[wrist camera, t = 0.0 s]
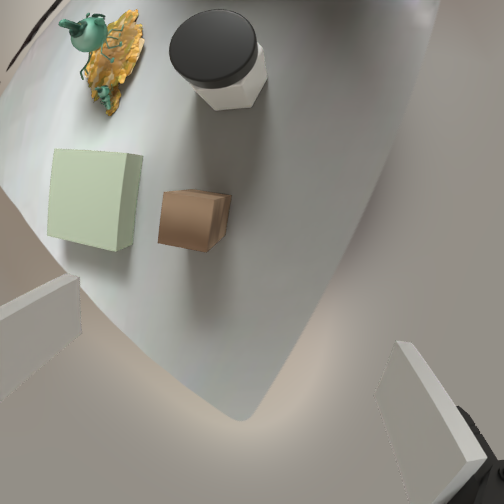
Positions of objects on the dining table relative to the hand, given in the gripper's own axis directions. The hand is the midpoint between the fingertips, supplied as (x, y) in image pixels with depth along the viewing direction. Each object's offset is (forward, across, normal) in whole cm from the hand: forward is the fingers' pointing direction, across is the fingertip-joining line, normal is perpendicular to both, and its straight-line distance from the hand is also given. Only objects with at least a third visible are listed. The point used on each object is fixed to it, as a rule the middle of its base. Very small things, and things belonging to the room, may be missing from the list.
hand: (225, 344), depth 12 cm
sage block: (+28, -23, +1) cm, 37 cm away
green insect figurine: (+28, -25, +21) cm, 44 cm away
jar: (+28, -7, +18) cm, 34 cm away
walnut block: (+28, -7, +1) cm, 29 cm away
